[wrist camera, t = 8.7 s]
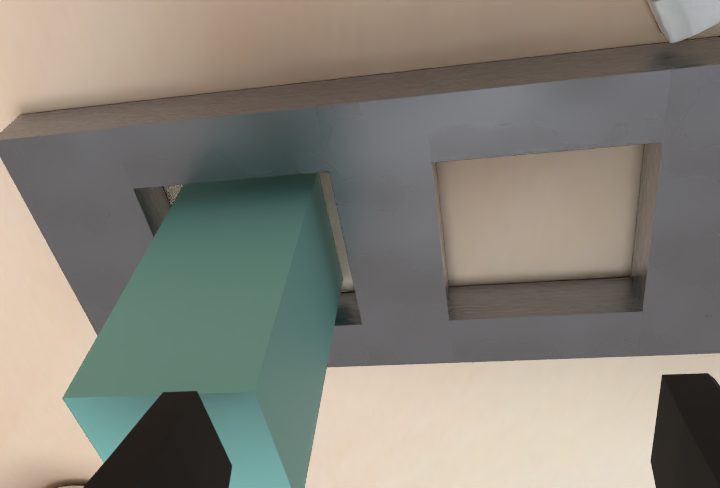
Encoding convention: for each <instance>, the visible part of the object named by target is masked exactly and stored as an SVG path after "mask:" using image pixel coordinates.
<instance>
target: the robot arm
mask: <svg viewBox="0 0 720 488" xmlns="http://www.w3.org/2000/svg"><path fill="white" fill-rule="evenodd" d="M651 465H652V470H653V475H654V480H655V485H656V488H720V386H719V384H718V383H717V381H716V380H715V379H714V378H713V377H712V376H710V375H709V374H708V373H703V374H673V375H662V380H661V388H660V395H659V403H658V410H657V418H656V425H655V433H654V440H653V448H652V455H651ZM231 471H232V464H231V462H230V460H229V458H228V456H227V454H226V451H225V449H224V447H223V445H222V443H221V441H220V439H219V436H218V434H217V432H216V430H215V428H214V426H213V424H212V422H211V419H210V417H209V415H208V413H207V411H206V409H205V407H204V405H203V402H202V400H201V398H200V396H199V394H198V392H197V391H179V392H163V393H162V394H161V395H160V396H159V397H158V399H157V400H156V401H155V402H154V403H153V405H152V406H151V407H150V408H149V409H148V410H147V412H146V413H145V414H144V415H143V416H142V418H141V419H140V420H139V421H138V422H137V424H136V425H135V426H134V427H133V428H132V430H131V431H130V432H129V433H128V435H127V436H126V437H125V438H124V439H123V441H122V442H121V443H120V444H119V445H118V447H117V448H116V449H115V450H114V451H113V453H112V454H111V455H110V456H109V458H108V459H107V460H106V461H105V462H104V464H103V465H102V466H101V467H100V468H99V470H98V471H97V472H96V473H95V474H94V475H93V477H92V478H91V479H90V480H89V481H88V482H87V484H86V485H85V486H84V487H83V488H229V484H230V477H231Z"/></svg>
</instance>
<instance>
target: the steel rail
mask: <svg viewBox="0 0 720 488" xmlns="http://www.w3.org/2000/svg"><path fill="white" fill-rule="evenodd" d="M637 144H644V153H643V163H642V172H641V182H640V192H639V202H638V212H637V221H636V231H635V241H634V251H633V261H632V270H631V277H624V278H606V279H588V280H570V281H552V282H534V283H515V284H497V285H479V286H461V287H449V284H448V275H447V266H446V256H445V247H444V238H443V228H442V219H441V210H440V200H439V191H438V182H437V172H436V163H435V162H443V161H454V160H465V159H477V158H488V157H500V156H511V155H522V154H534V153H545V152H557V151H568V150H580V149H591V148H602V147H614V146H625V145H637ZM0 157H1V159H2V161H3V163H4V165H5V166H6V168H7V170H8V172H9V174H10V176H11V177H12V179H13V181H14V183H15V185H16V187H17V188H18V190H19V192H20V194H21V196H22V198H23V199H24V201H25V203H26V205H27V207H28V209H29V210H30V212H31V214H32V216H33V218H34V220H35V222H36V223H37V225H38V227H39V229H40V231H41V233H42V234H43V236H44V238H45V240H46V242H47V244H48V245H49V247H50V249H51V251H52V253H53V255H54V256H55V258H56V260H57V262H58V264H59V266H60V267H61V269H62V271H63V273H64V275H65V277H66V278H67V280H68V282H69V284H70V286H71V288H72V290H73V291H74V293H75V295H76V297H77V299H78V301H79V302H80V304H81V306H82V308H83V310H84V312H85V313H86V315H87V317H88V319H89V321H90V323H91V324H92V326H93V328H94V330H95V332H96V334H97V335H99V333H100V331H101V329H102V328H103V326H104V324H105V322H106V321H107V319H108V317H109V315H110V314H111V312H112V310H113V308H114V307H115V305H116V303H117V301H118V300H119V298H120V296H121V294H122V292H123V291H124V289H125V287H126V285H127V284H128V282H129V280H130V278H131V277H132V275H133V273H134V271H135V270H136V268H137V266H138V264H139V263H140V261H141V259H142V257H143V256H144V254H145V252H146V250H147V248H148V247H149V245H150V243H151V241H152V240H153V238H154V236H155V234H156V233H157V231H158V229H159V227H160V226H161V224H162V222H163V220H164V219H165V217H166V215H167V213H168V212H169V210H170V208H171V207H170V204H169V202H168V199H167V197H166V194H165V192H164V189H163V187H162V186H169V185H180V184H191V183H203V182H214V181H226V180H237V179H249V178H260V177H271V176H283V175H294V174H306V173H317V172H328V171H329V173H330V178H331V182H332V187H333V192H334V196H335V201H336V205H337V210H338V215H339V219H340V224H341V228H342V233H343V238H344V242H345V247H346V252H347V256H348V261H349V265H350V270H351V275H352V279H353V284H354V288H355V292H352V293H340V298H339V303H338V309H337V314H336V320H335V325H334V331H333V336H332V341H331V347H330V352H329V358H328V363H327V367H347V366H375V365H403V364H431V363H459V362H487V361H515V360H542V359H570V358H598V357H626V356H654V355H682V354H710V353H720V37H711V38H702V39H693V40H684V41H678V42H675V43H669V42H666V43H657V44H648V45H639V46H630V47H621V48H612V49H603V50H595V51H586V52H577V53H568V54H559V55H550V56H541V57H532V58H523V59H514V60H505V61H496V62H487V63H478V64H469V65H460V66H451V67H442V68H434V69H425V70H416V71H407V72H398V73H389V74H380V75H371V76H362V77H353V78H344V79H335V80H326V81H317V82H308V83H299V84H290V85H281V86H273V87H264V88H255V89H246V90H237V91H228V92H219V93H210V94H201V95H192V96H183V97H174V98H165V99H156V100H147V101H138V102H129V103H121V104H112V105H103V106H94V107H85V108H76V109H67V110H58V111H49V112H40V113H31V114H22V115H19V116H18V117H17V118H16V119H15V120H14V121H13V122H12V123H11V124H9V125H8V126H7V127H6V128H5V129H4V130H3V131H2V132H1V133H0Z"/></svg>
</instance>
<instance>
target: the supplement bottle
mask: <svg viewBox="0 0 720 488" xmlns="http://www.w3.org/2000/svg"><path fill="white" fill-rule="evenodd" d="M83 487H84V486H64V487H58V488H83Z"/></svg>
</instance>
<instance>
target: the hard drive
mask: <svg viewBox="0 0 720 488" xmlns="http://www.w3.org/2000/svg"><path fill="white" fill-rule="evenodd" d="M647 2H648V4H649V6H650V9H651V11H652V13H653V15H654V17H655V19H656V22H657V24H658V26H659V28H660V30H661V32H662V33H663V34H664V36H665V38H666V39H667V40H668V41H669V43H675V42H678V41H681V40H684V39H687V38H690V37H692V36H694V35H696V34H698V33H701V32H703V31H705V30H707V29H709V28H711V27H712V26H714V25H716V24H718V23H720V0H647Z"/></svg>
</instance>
